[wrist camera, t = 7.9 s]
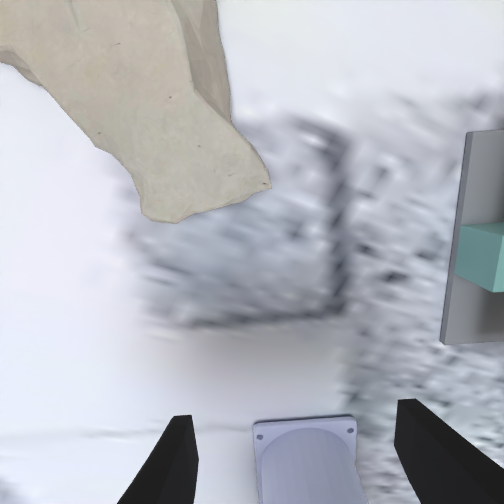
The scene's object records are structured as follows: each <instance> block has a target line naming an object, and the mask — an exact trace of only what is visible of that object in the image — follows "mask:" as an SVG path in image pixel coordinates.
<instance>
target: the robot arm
mask: <svg viewBox="0 0 504 504" xmlns="http://www.w3.org/2000/svg"><path fill="white" fill-rule="evenodd" d="M349 428H350V429H349ZM356 435H357V423H356V420H355V419H354V418H353V417H336V418H322V419H308V420H294V421H280V422H266V423H257V424H255V425H254V426H253V438H254V449H255V460H256V471H257V483H258V494H259V504H369V503H368V500H367V498H366V495H365V492H364V490H363V487H362V484H361V481H360V479H359V476H358V473H357V470H356V468H355V459H356ZM394 447H395V449H396V451H397V454H398V456H399V459H400V461H401V464H402V466H403V468H404V471H405V473H406V475H407V477H408V480H409V482H410V484H411V485H412V487H413V489H414V491H415V493H416V495H417V497H418V499H419V500H420V502H421V504H504V469H503V468H502V467H500V466H499V465H498V464H497V463H495V462H494V461H493V460H491V459H490V458H489V457H487V456H486V455H485V454H484V453H482V452H481V451H480V450H478V449H477V448H476V447H475V446H473V445H472V444H471V443H470V442H468V441H467V440H466V439H465V438H463V437H462V436H461V435H460V434H458V433H457V432H456V431H455V430H454V429H452V428H451V427H450V426H449V425H447V424H446V423H445V422H444V421H443V420H441V419H440V418H439V417H438V416H436V415H435V414H434V413H433V412H432V411H430V410H429V409H428V408H427V407H426V406H424V405H423V404H422V403H421V402H419V401H418V400H417V399H416V398H415V399H402V400H398V406H397V417H396V428H395V439H394ZM198 462H199V457H198V451H197V445H196V439H195V433H194V427H193V421H192V415H181V416H174V417H173V418H172V419H171V421H170V422H169V424H168V426H167V427H166V429H165V431H164V433H163V434H162V436H161V438H160V439H159V441H158V443H157V444H156V446H155V447H154V449H153V451H152V452H151V454H150V455H149V457H148V459H147V460H146V462H145V463H144V465H143V466H142V468H141V469H140V471H139V472H138V474H137V475H136V477H135V478H134V480H133V481H132V483H131V484H130V486H129V487H128V489H127V490H126V491H125V493H124V494H123V496H122V497H121V498H120V500H119V501H118V503H117V504H193V503H194V498H195V490H196V482H197V472H198Z"/></svg>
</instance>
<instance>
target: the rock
mask: <svg viewBox="0 0 504 504" xmlns="http://www.w3.org/2000/svg"><path fill="white" fill-rule="evenodd" d="M217 19H218V12H217V5H216V0H0V62H1V63H4V64H9V65H12V66H13V67H14V68H16V69H17V70H18V71H19V72H20V73H21V74H22V75H23V76H24V77H25V78H26V79H27V80H29V81H31V82H33V83H35V84H37V85H41V86H44V87H45V89H46V90H47V91H48V92H49V94H50V95H51V96H52V97H53V98H54V99H55V101H56V102H57V103H58V104H59V105H60V106H61V108H62V109H63V110H64V111H65V112H66V113H67V114H68V116H69V117H70V118H71V119H72V120H73V121H74V122H75V123H76V124H77V125H78V126H79V127H80V129H81V130H82V131H83V132H84V133H85V134H86V135H87V136H88V137H89V138H90V140H91V141H92V143H93V144H94V145H95V147H97V148H99V149H101V150H104V151H106V152H108V153H110V154H112V155H113V156H114V157H115V158H116V159H117V160H119V162H120V163H121V164H122V165H123V166H124V167H125V169H126V170H127V171H128V172H129V173H130V174H131V177H132V179H133V182H134V184H135V187H136V189H137V191H138V194H139V196H140V207H141V213H142V214H143V215H144V216H146V217H147V218H148V219H149V220H151V221H155V222H160V223H172V224H177V223H178V222H180V221H182V220H183V219H185V218H187V217H188V216H190V215H192V214H195V213H201V212H207V211H210V210H214V209H217V208H221V207H224V206H227V205H231V204H235V203H239V202H243V201H245V200H246V199H247V198H249V197H250V196H251V195H253V194H254V193H256V192H259V191H263V190H267V189H271V183H270V178H269V174H268V171H267V169H266V167H265V165H264V163H263V162H262V160H261V158H260V156H259V155H258V153H257V152H256V150H255V148H254V147H253V145H252V144H251V143H250V142H249V141H247V140H246V139H245V138H244V137H243V136H242V135H241V134H240V133H239V132H238V131H237V130H236V129H235V128H234V126H233V124H232V121H231V117H230V89H229V83H228V77H227V70H226V64H225V56H224V51H223V47H222V43H221V39H220V35H219V30H218V26H217ZM118 43H120V44H118ZM115 44H116V45H115Z"/></svg>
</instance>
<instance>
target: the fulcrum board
mask: <svg viewBox="0 0 504 504" xmlns="http://www.w3.org/2000/svg"><path fill="white" fill-rule="evenodd" d="M494 341H504V129H503V130H489V131H475V132H468V133H467V137H466V145H465V153H464V160H463V168H462V175H461V183H460V191H459V198H458V206H457V214H456V221H455V229H454V237H453V244H452V252H451V260H450V267H449V275H448V283H447V290H446V298H445V306H444V313H443V321H442V328H441V336H440V342H442V343H443V344H444V345H453V344H467V343H480V342H494Z"/></svg>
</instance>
